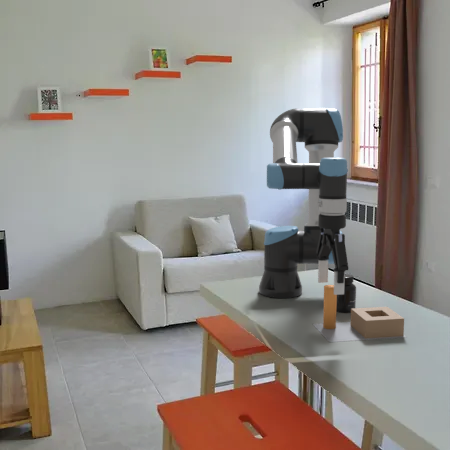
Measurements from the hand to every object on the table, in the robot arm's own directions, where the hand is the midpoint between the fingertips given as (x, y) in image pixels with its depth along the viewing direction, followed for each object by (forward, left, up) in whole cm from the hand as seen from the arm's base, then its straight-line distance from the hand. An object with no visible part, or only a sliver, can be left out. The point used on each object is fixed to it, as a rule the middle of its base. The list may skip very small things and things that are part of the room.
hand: (330, 288), depth 167 cm
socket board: (+4, +7, -13) cm, 15 cm away
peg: (0, 0, -12) cm, 12 cm away
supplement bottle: (-15, +10, -13) cm, 22 cm away
